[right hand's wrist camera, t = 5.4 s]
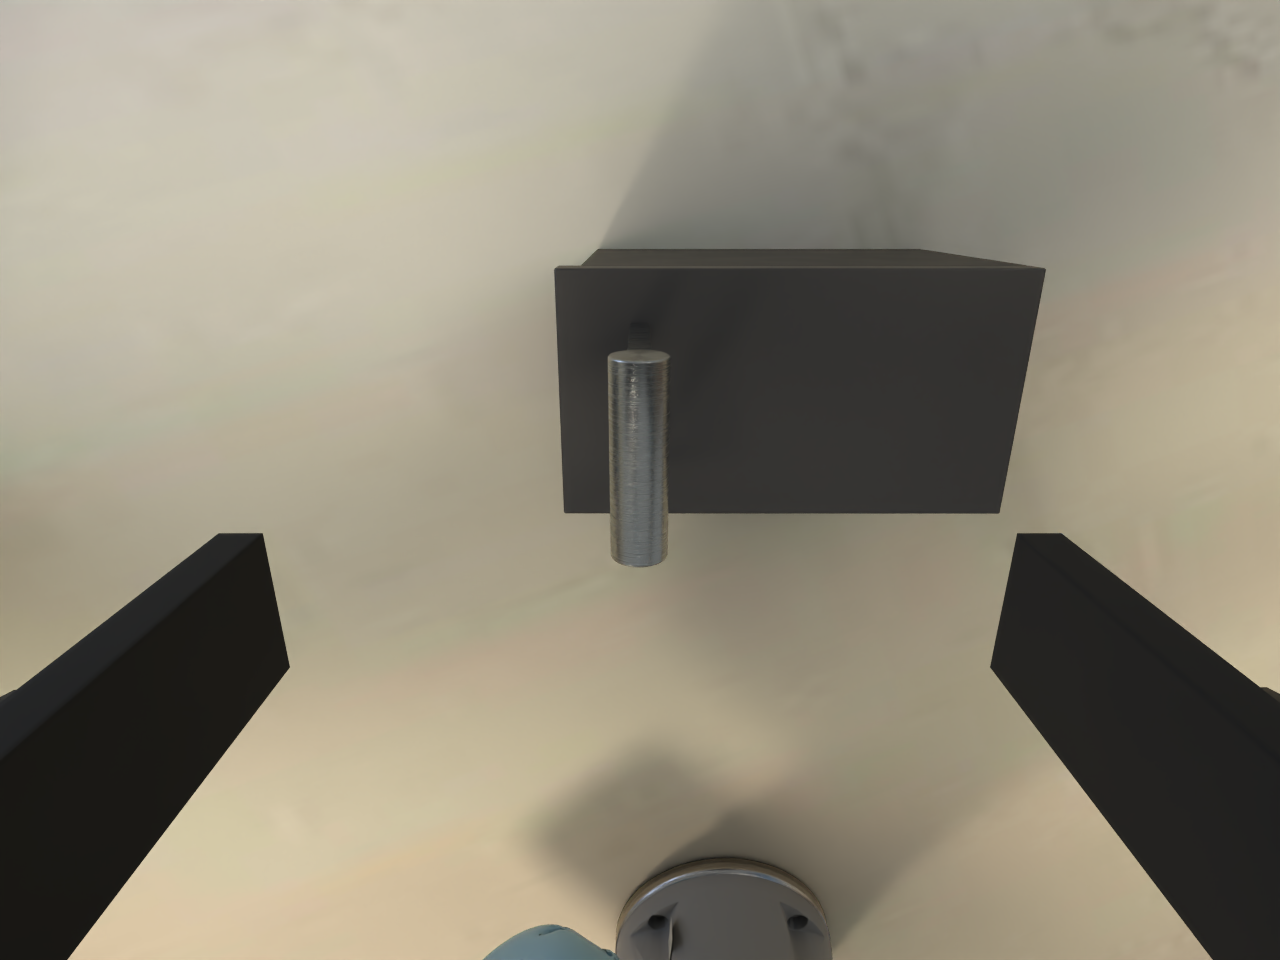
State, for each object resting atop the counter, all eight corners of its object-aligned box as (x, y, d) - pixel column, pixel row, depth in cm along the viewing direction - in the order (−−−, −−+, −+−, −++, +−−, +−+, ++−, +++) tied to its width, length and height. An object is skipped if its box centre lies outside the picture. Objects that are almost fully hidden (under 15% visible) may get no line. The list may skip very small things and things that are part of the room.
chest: (600, 426, 39) (586, 501, 29) (597, 249, 36) (579, 265, 26) (897, 426, 39) (985, 501, 29) (920, 249, 36) (1028, 265, 26)
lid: (566, 501, 29) (537, 619, 21) (557, 265, 26) (518, 293, 18) (986, 502, 29) (1123, 620, 21) (1029, 265, 26) (1212, 293, 18)
